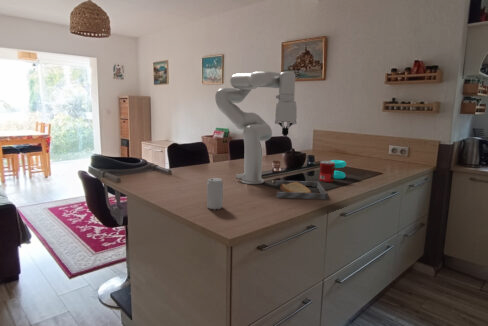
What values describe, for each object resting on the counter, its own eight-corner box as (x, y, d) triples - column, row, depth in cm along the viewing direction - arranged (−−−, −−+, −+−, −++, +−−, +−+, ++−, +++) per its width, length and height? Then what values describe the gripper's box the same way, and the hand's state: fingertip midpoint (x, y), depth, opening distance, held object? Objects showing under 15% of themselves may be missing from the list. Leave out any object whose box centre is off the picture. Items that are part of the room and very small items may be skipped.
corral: (276, 197, 151) (276, 192, 150) (274, 185, 175) (274, 180, 174) (327, 199, 149) (327, 194, 149) (318, 186, 173) (318, 181, 173)
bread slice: (310, 198, 152) (311, 190, 151) (273, 194, 158) (273, 186, 158) (317, 189, 168) (317, 182, 167) (283, 185, 175) (283, 179, 174)
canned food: (334, 182, 182) (335, 163, 180) (319, 181, 184) (320, 162, 182) (333, 179, 189) (334, 161, 188) (319, 178, 191) (320, 160, 189)
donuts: (347, 160, 197) (345, 163, 188) (346, 176, 199) (344, 179, 190) (330, 159, 201) (328, 161, 191) (329, 175, 202) (327, 178, 193)
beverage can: (207, 205, 137) (207, 177, 135) (222, 205, 138) (222, 177, 136) (206, 210, 131) (206, 181, 129) (222, 210, 132) (223, 181, 129)
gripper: (271, 97, 155) (270, 136, 158) (303, 98, 154) (301, 137, 157) (270, 98, 162) (269, 135, 166) (301, 98, 162) (299, 135, 165)
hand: (285, 135), depth 162 cm, fingers closed
